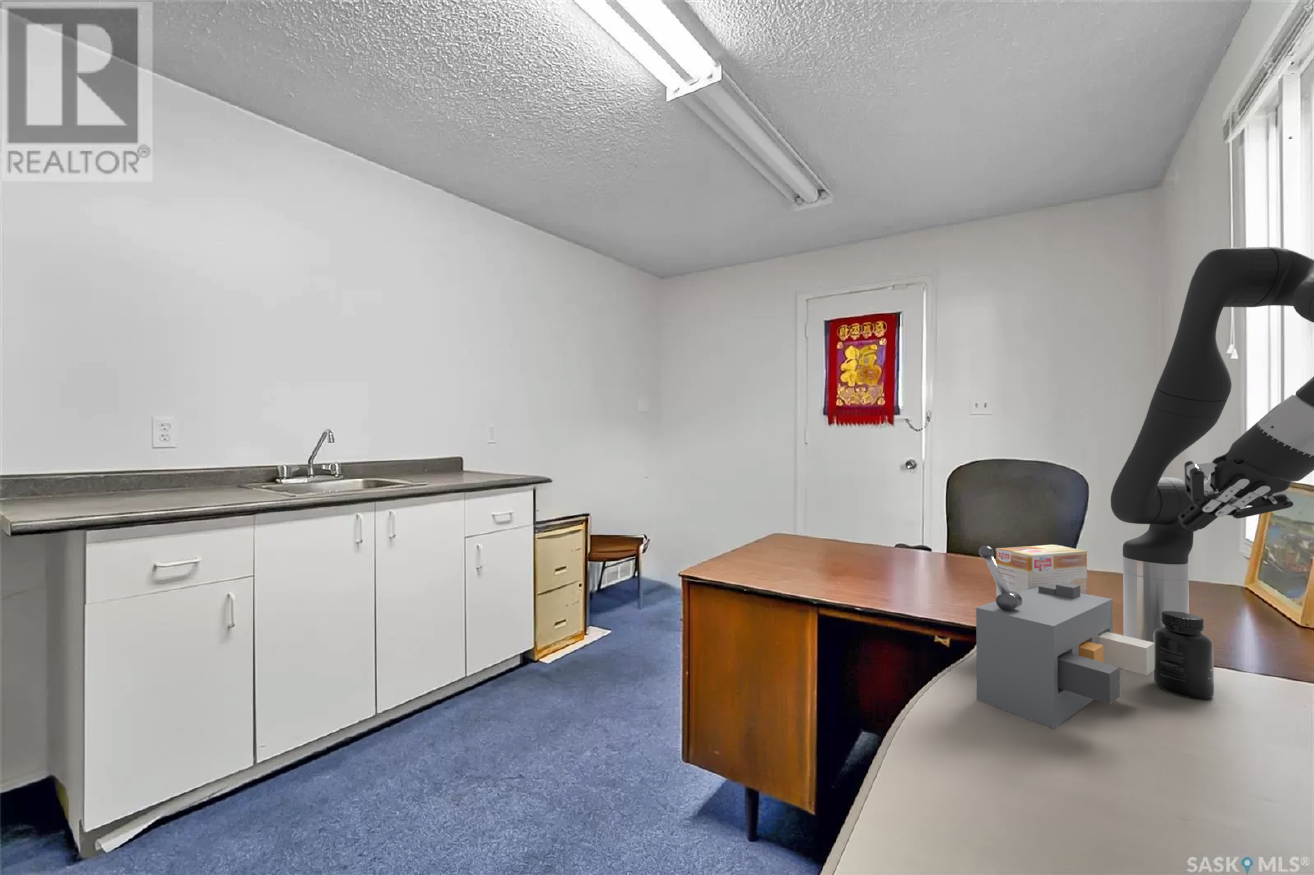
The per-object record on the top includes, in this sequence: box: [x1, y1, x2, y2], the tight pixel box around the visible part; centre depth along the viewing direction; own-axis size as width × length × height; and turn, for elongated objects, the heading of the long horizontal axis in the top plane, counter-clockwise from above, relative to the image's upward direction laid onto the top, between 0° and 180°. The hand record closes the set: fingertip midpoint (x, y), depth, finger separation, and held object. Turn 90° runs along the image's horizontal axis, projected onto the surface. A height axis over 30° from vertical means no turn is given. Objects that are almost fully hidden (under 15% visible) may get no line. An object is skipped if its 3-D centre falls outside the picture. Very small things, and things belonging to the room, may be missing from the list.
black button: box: [1058, 652, 1121, 705], centre depth 73 cm, size 4×8×4 cm, turn 34°
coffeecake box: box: [995, 544, 1088, 599], centre depth 100 cm, size 15×7×20 cm, turn 106°
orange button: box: [1079, 641, 1104, 662], centre depth 81 cm, size 4×8×4 cm, turn 34°
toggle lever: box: [978, 545, 1022, 611], centre depth 81 cm, size 3×2×10 cm
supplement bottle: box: [1153, 611, 1215, 700], centre depth 84 cm, size 7×7×12 cm
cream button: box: [1098, 631, 1155, 676], centre depth 82 cm, size 4×8×4 cm, turn 34°
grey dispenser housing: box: [975, 582, 1114, 729], centre depth 83 cm, size 24×10×16 cm, turn 124°
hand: (1185, 525), depth 78 cm, fingers closed
